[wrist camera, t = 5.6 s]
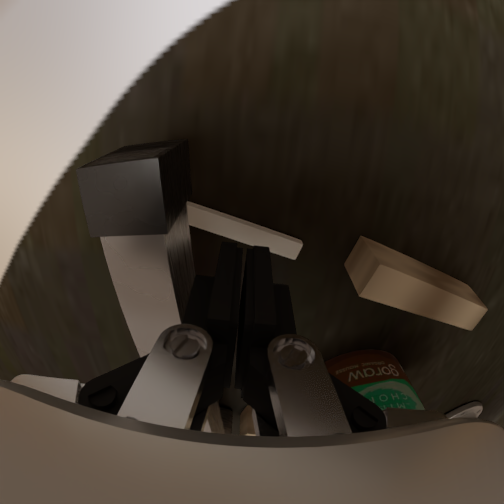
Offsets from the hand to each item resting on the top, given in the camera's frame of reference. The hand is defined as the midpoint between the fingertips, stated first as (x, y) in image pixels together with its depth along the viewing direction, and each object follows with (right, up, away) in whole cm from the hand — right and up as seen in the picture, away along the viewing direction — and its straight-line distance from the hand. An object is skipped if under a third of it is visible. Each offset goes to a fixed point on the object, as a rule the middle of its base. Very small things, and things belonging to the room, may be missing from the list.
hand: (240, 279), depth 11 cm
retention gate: (-3, -4, +8) cm, 9 cm away
